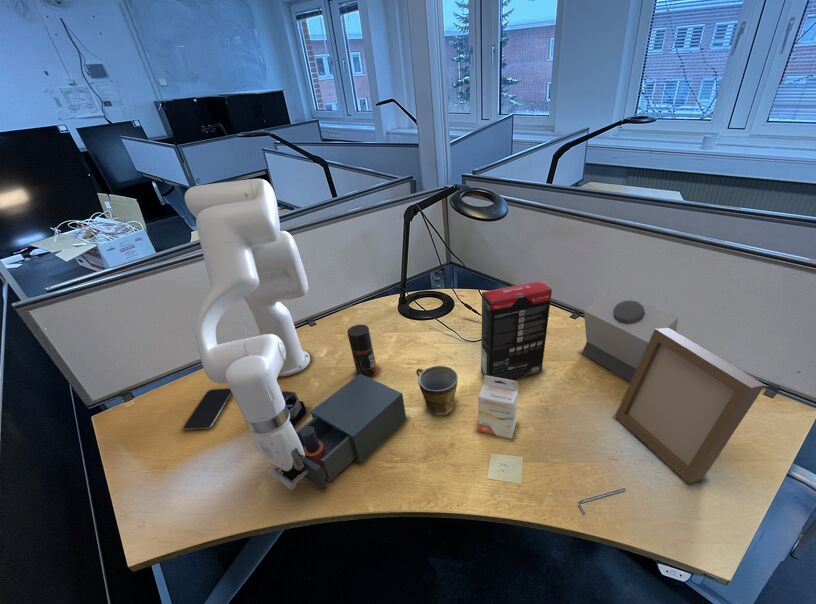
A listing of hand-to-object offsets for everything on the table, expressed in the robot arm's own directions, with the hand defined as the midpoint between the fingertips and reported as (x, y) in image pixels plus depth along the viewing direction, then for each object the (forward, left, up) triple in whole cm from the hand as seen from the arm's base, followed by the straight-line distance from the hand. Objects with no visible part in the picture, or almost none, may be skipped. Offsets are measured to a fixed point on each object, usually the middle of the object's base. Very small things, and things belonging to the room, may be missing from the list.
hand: (293, 476), depth 89 cm
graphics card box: (+21, +59, -4) cm, 63 cm away
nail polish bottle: (0, +6, -2) cm, 7 cm away
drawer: (0, +7, -3) cm, 8 cm away
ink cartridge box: (+28, +38, -4) cm, 48 cm away
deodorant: (-16, +37, -4) cm, 41 cm away
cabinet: (0, +20, -4) cm, 21 cm away
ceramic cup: (+10, +37, -4) cm, 39 cm away
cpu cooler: (-21, +11, -4) cm, 24 cm away
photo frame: (+64, +57, -4) cm, 86 cm away
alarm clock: (+46, +80, -4) cm, 93 cm away
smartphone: (-42, +2, -4) cm, 42 cm away
